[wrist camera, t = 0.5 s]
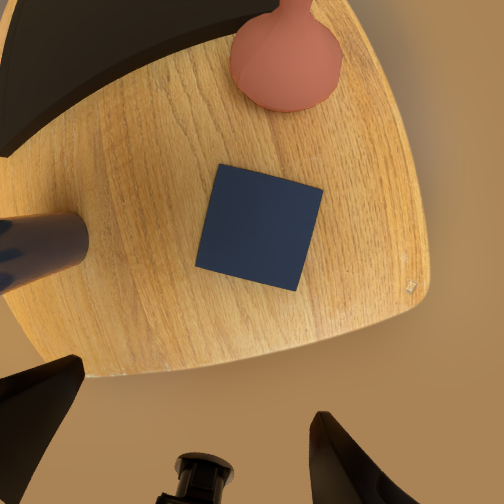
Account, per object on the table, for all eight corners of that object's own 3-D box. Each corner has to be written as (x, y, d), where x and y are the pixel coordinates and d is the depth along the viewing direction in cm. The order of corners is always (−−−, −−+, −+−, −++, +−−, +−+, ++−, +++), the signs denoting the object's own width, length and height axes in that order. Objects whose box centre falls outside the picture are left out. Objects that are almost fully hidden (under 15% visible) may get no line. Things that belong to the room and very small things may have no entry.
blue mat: (295, 289, 22) (295, 291, 21) (196, 264, 22) (194, 266, 21) (322, 190, 20) (323, 190, 20) (220, 164, 20) (218, 163, 20)
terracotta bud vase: (347, 89, 19) (410, 7, 7) (283, 144, 20) (309, 73, 8) (280, 33, 18) (289, -65, 6) (214, 82, 19) (174, -13, 7)
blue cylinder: (86, 272, 22) (-19, 321, 9) (49, 258, 22) (-50, 291, 9) (92, 217, 21) (-26, 234, 8) (54, 207, 21) (-53, 217, 8)
